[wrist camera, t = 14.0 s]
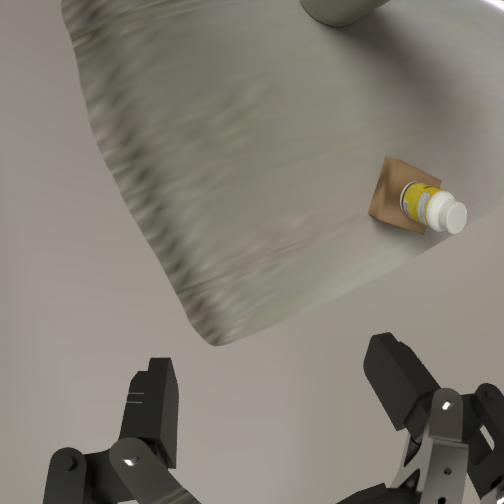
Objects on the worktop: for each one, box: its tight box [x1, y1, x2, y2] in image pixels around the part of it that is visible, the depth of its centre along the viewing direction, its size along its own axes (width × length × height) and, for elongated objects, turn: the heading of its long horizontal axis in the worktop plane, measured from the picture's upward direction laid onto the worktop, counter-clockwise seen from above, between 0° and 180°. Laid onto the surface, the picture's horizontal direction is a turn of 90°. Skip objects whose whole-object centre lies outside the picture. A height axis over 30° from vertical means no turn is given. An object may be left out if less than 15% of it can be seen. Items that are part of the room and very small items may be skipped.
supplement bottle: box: [400, 181, 467, 234], centre depth 33 cm, size 5×5×10 cm
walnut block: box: [368, 157, 442, 235], centre depth 39 cm, size 9×9×4 cm
